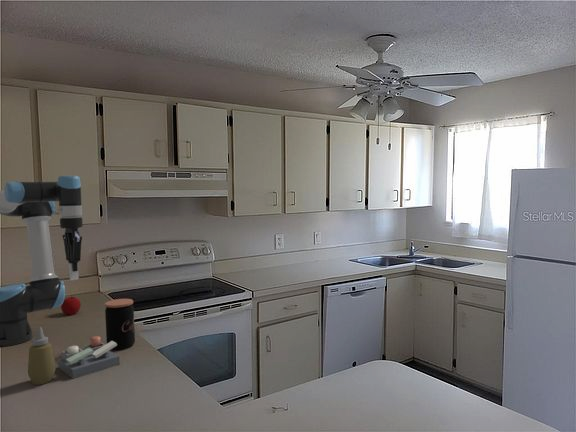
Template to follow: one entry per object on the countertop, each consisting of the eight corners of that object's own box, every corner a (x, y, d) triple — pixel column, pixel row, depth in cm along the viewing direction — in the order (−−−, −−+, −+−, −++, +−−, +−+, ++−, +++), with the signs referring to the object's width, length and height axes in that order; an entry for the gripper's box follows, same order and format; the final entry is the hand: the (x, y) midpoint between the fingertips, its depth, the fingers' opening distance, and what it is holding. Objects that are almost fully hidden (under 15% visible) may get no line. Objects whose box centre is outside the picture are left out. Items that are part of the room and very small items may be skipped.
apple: (61, 312, 227) (60, 293, 227) (81, 310, 231) (80, 291, 230) (61, 317, 219) (59, 297, 218) (81, 314, 223) (80, 295, 222)
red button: (88, 346, 162) (88, 337, 162) (98, 344, 165) (98, 335, 164) (92, 349, 160) (92, 339, 159) (102, 346, 162) (102, 337, 162)
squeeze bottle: (61, 377, 147) (59, 325, 146) (41, 388, 140) (38, 332, 139) (43, 374, 150) (40, 323, 149) (22, 385, 143) (19, 330, 141)
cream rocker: (93, 357, 156) (91, 353, 156) (113, 344, 162) (111, 340, 161) (97, 360, 154) (95, 355, 153) (118, 347, 159) (116, 343, 159)
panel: (58, 367, 156) (57, 352, 156) (103, 354, 168) (102, 340, 167) (73, 378, 147) (72, 362, 146) (119, 364, 158) (118, 349, 158)
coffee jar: (125, 351, 171) (123, 305, 170) (101, 349, 173) (99, 304, 172) (140, 341, 181) (138, 299, 180) (116, 340, 183) (115, 298, 182)
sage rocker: (67, 363, 150) (65, 359, 150) (90, 352, 156) (88, 347, 155) (71, 366, 148) (69, 361, 147) (94, 354, 153) (93, 350, 153)
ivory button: (66, 357, 156) (65, 347, 156) (76, 354, 159) (76, 344, 159) (69, 359, 154) (69, 350, 154) (80, 356, 157) (80, 347, 156)
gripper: (54, 217, 165) (57, 279, 167) (66, 218, 156) (70, 283, 158) (74, 216, 171) (77, 275, 172) (88, 217, 162) (91, 280, 163)
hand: (74, 279), depth 165 cm, fingers closed
